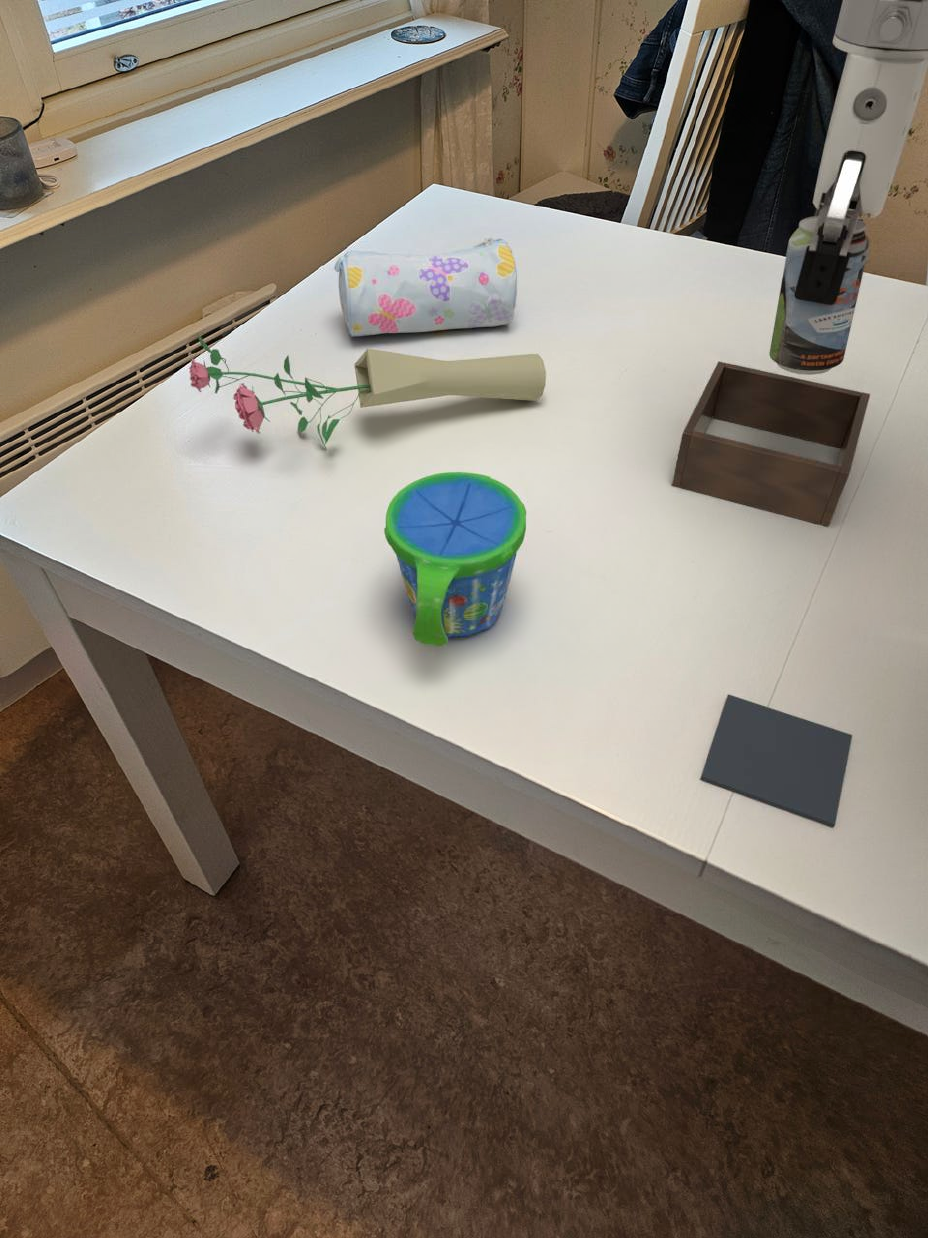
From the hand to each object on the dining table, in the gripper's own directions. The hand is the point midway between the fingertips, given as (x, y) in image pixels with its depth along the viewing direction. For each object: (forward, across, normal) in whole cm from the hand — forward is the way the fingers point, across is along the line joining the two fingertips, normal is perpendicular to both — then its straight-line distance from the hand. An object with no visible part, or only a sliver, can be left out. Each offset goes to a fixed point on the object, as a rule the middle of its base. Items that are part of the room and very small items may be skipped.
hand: (821, 280), depth 71 cm
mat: (+19, -33, -8) cm, 39 cm away
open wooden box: (+19, +1, 0) cm, 19 cm away
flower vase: (+19, -9, +38) cm, 43 cm away
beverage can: (+7, 0, 0) cm, 7 cm away
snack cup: (+19, -29, +20) cm, 40 cm away
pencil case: (+18, +12, +42) cm, 48 cm away
